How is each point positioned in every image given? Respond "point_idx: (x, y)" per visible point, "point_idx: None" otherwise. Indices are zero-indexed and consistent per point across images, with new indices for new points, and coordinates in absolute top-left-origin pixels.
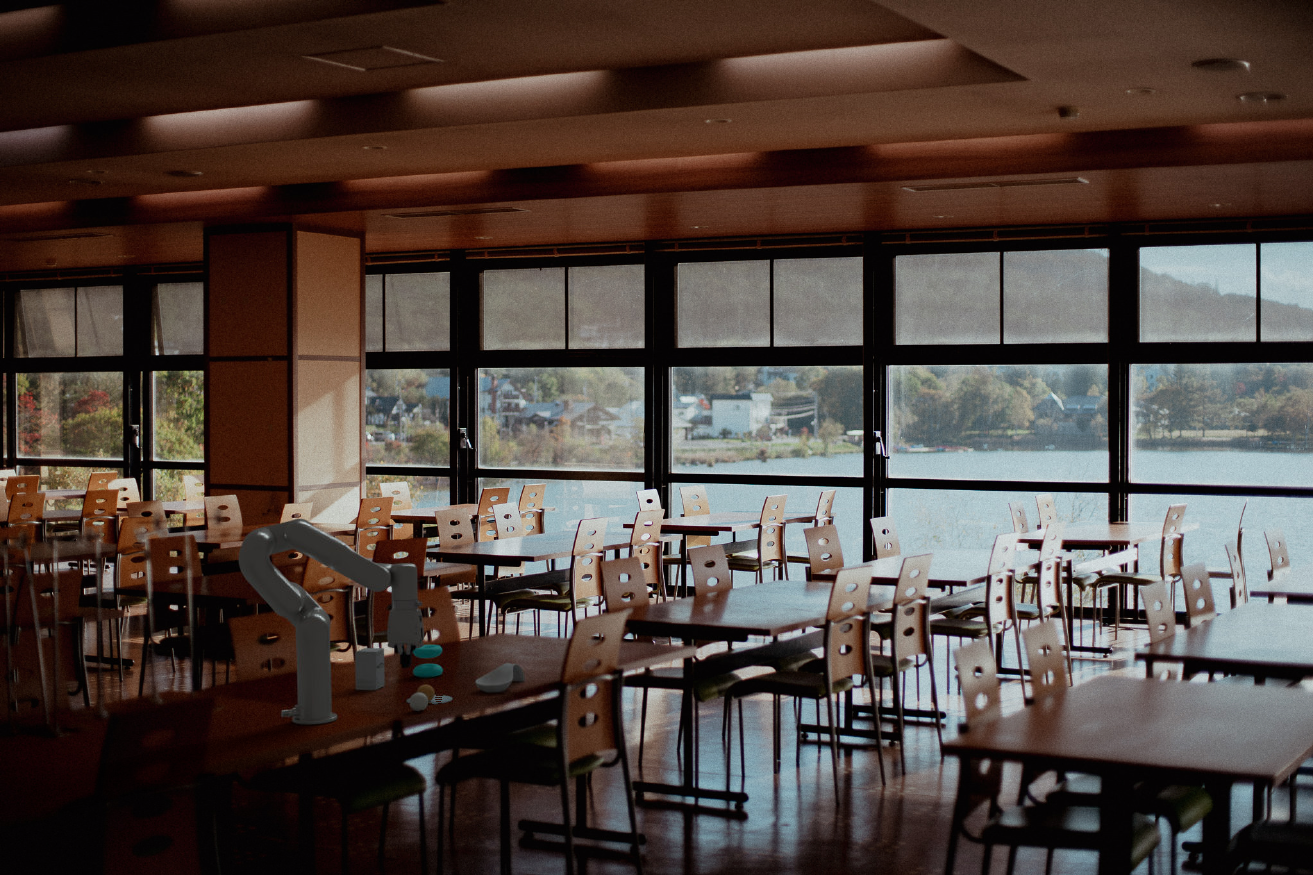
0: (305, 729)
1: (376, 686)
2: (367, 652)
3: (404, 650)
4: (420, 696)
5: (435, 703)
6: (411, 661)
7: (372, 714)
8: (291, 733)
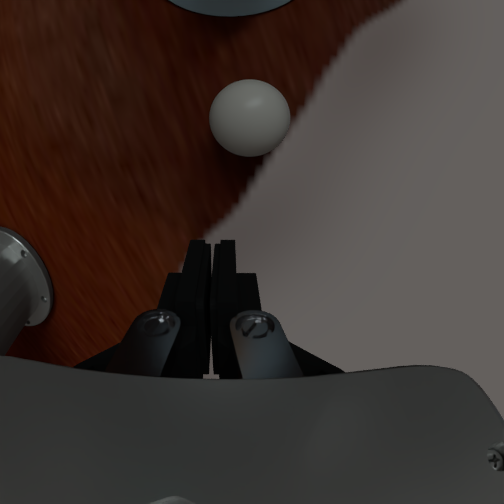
0: (53, 352)
1: None
2: None
3: (180, 351)
4: (268, 144)
5: (277, 4)
6: (256, 281)
7: (101, 190)
8: None
